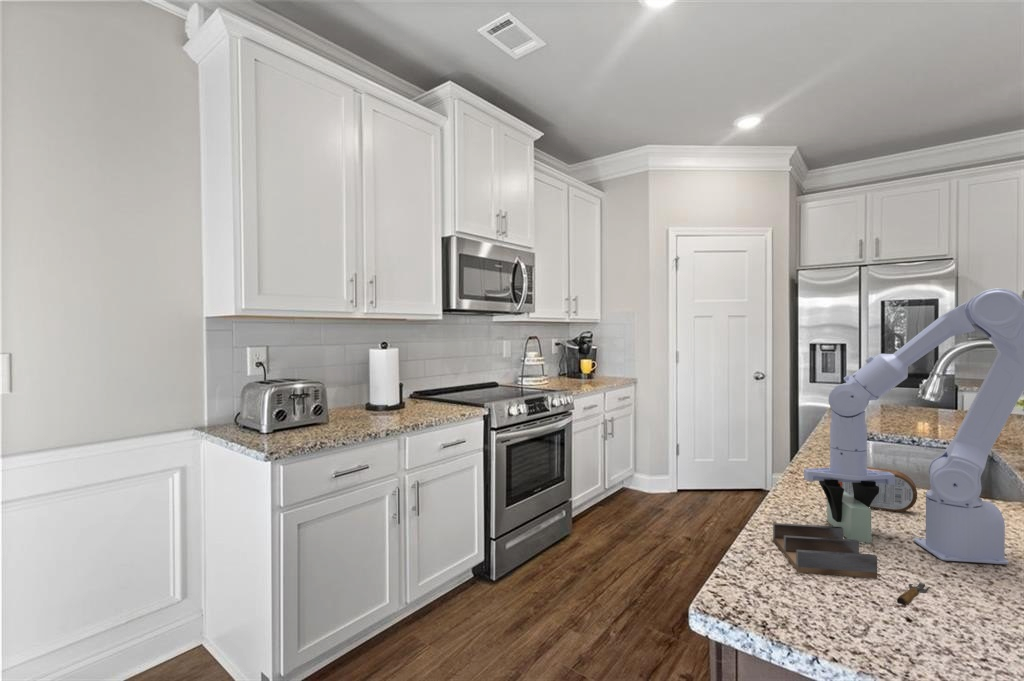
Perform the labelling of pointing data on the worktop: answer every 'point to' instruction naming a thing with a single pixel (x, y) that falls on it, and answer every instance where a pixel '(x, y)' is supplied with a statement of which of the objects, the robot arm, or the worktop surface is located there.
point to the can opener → (911, 593)
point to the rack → (823, 550)
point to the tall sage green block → (853, 519)
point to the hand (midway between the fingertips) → (848, 520)
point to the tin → (890, 492)
